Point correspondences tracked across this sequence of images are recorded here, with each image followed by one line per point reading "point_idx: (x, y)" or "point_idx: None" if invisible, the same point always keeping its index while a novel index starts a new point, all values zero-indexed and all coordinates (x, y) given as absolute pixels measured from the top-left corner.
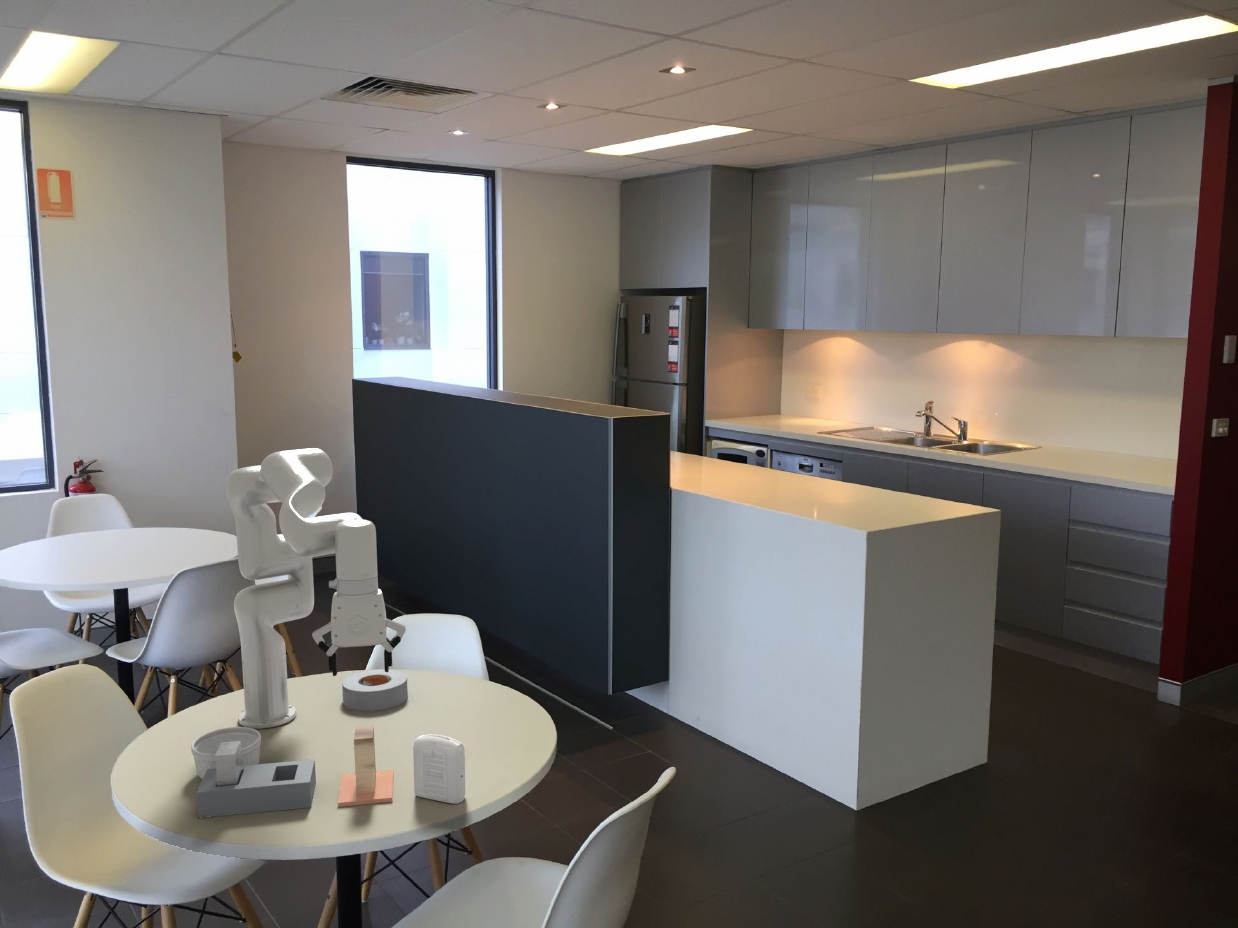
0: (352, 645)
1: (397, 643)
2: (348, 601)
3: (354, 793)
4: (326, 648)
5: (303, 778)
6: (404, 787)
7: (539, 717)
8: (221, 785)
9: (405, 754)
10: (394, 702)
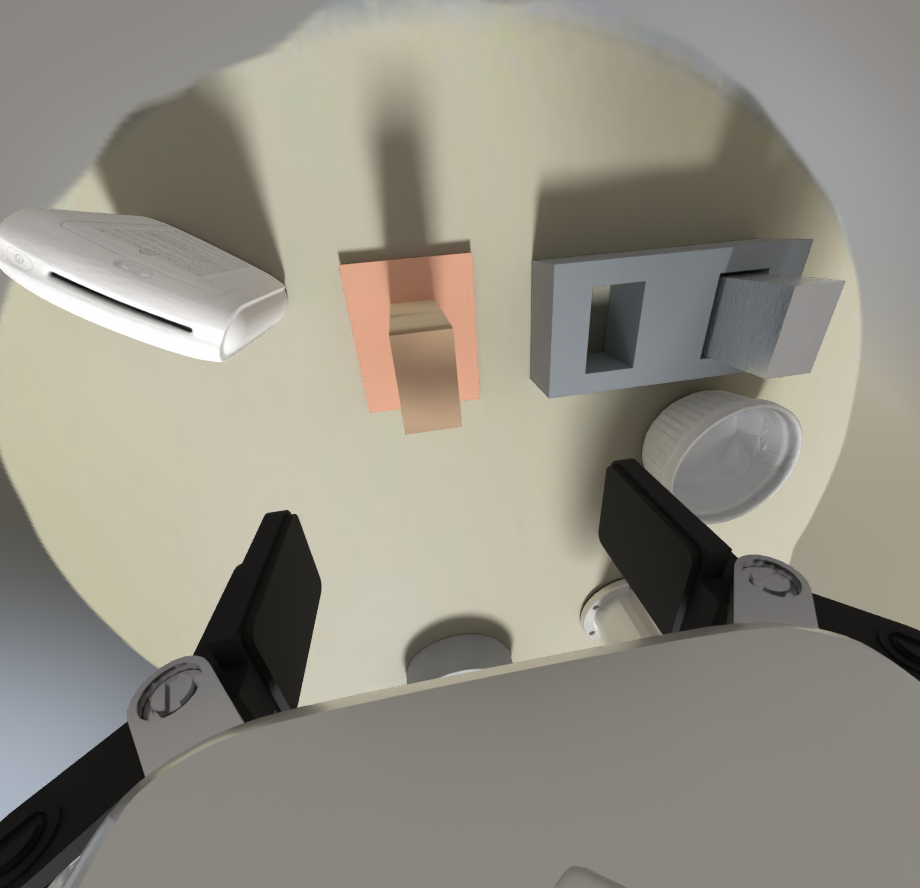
0: (610, 655)
1: (58, 783)
2: None
3: (439, 300)
4: (824, 623)
5: (570, 290)
6: (327, 338)
7: (113, 629)
8: (756, 273)
9: (363, 489)
10: (423, 656)
